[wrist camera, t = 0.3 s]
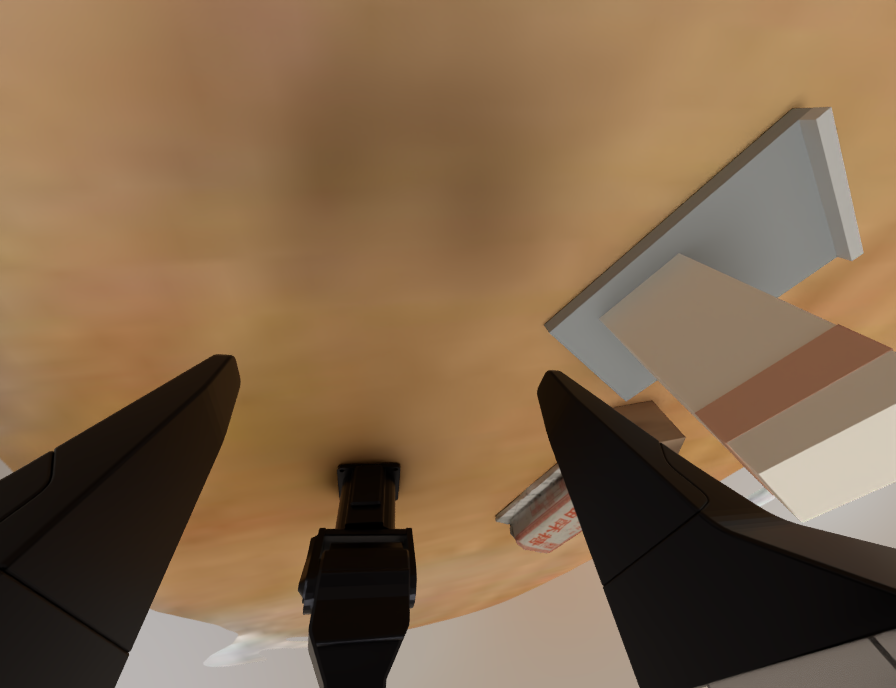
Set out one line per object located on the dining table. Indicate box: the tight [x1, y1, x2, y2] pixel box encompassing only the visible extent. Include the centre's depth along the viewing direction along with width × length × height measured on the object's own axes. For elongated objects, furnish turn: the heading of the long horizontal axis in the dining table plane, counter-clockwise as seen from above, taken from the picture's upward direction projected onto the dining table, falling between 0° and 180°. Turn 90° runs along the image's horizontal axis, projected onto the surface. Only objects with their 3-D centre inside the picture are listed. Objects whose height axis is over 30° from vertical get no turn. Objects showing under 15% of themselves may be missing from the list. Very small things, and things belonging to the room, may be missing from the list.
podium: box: [544, 107, 863, 401], centre depth 26 cm, size 20×13×2 cm, turn 137°
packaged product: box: [495, 463, 582, 553], centre depth 40 cm, size 18×5×10 cm
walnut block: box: [613, 401, 686, 454], centre depth 34 cm, size 5×5×5 cm
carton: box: [599, 253, 896, 523], centre depth 21 cm, size 7×9×14 cm
